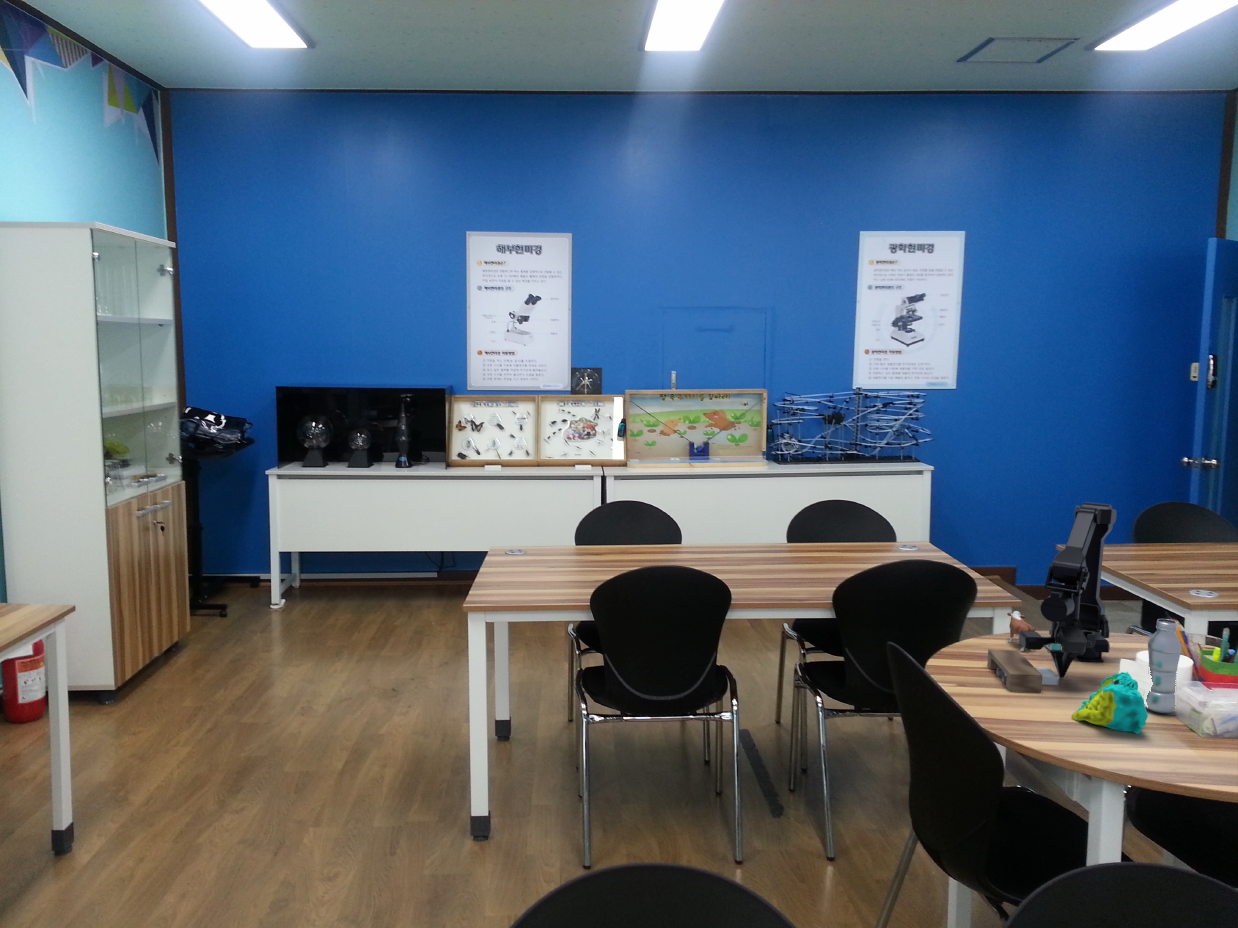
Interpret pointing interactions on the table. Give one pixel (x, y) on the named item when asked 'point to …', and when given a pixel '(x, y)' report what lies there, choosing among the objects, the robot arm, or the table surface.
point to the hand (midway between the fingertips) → (1061, 677)
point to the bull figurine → (1018, 626)
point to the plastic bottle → (1163, 666)
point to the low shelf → (1015, 671)
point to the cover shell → (1047, 676)
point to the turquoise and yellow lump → (1115, 705)
